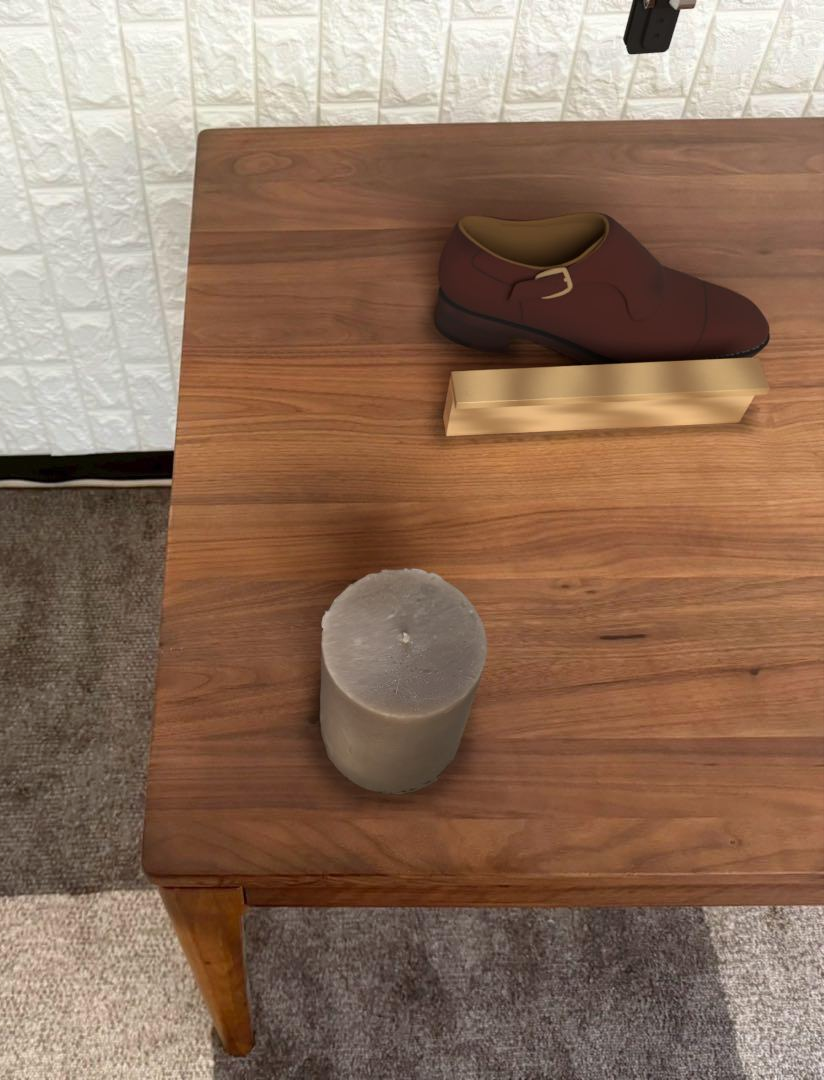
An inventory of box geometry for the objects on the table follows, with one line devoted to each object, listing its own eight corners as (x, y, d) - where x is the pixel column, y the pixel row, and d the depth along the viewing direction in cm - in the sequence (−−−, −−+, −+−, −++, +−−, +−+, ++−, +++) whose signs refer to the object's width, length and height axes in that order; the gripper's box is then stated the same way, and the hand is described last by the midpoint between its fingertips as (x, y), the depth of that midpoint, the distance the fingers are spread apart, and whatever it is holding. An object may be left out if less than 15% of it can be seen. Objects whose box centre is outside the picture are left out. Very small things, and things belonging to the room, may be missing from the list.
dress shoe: (763, 396, 84) (824, 295, 74) (426, 360, 87) (441, 257, 77) (754, 315, 89) (810, 209, 79) (435, 283, 92) (450, 177, 82)
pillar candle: (452, 806, 67) (486, 724, 54) (307, 781, 68) (306, 694, 55) (466, 672, 72) (499, 568, 59) (330, 651, 73) (334, 543, 60)
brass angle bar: (732, 403, 84) (758, 356, 79) (743, 434, 82) (770, 388, 77) (442, 417, 84) (451, 371, 79) (447, 448, 82) (456, 403, 77)
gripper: (820, -175, 59) (719, 104, 75) (747, -284, 67) (669, -11, 83) (691, -166, 59) (617, 111, 75) (633, -276, 67) (577, -4, 83)
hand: (644, 46), depth 79 cm, fingers closed
